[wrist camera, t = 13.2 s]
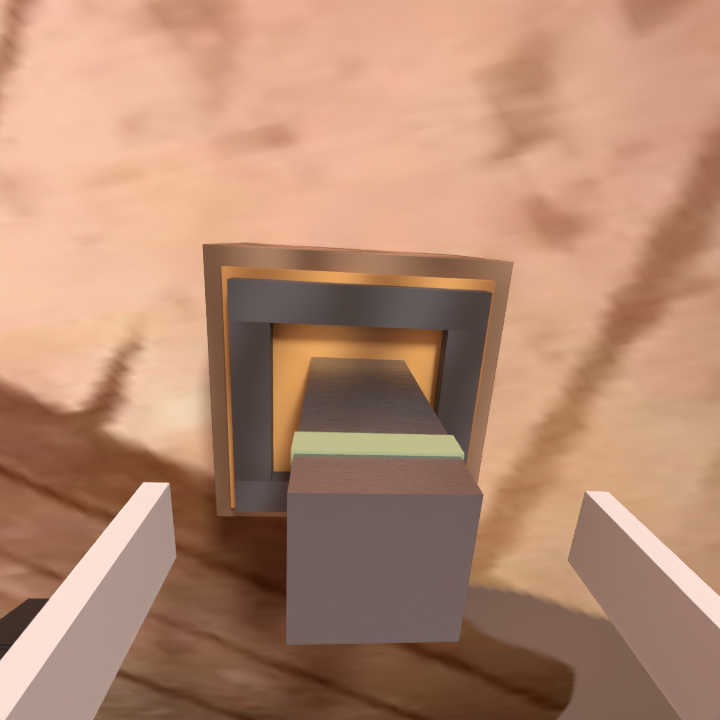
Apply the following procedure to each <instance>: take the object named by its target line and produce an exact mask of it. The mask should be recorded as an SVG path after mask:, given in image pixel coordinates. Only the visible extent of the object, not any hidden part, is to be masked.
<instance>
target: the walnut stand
mask: <svg viewBox="0 0 720 720" xmlns="http://www.w3.org/2000/svg"><path fill="white" fill-rule="evenodd" d="M203 260H204V279H205V298H206V317H207V336H208V355H209V374H210V393H211V412H212V430H213V449H214V468H215V487H216V506H217V516H268V517H287V491H288V486H289V480H290V475H291V448H292V443H293V438H294V433H295V432H298V431H299V425H300V420H301V414H302V408H303V403H304V397H305V392H306V386H307V381H308V375H309V370H310V364H311V359H312V357H329V358H356V359H383V360H404V361H405V363H406V364H407V366H408V368H409V369H410V371H411V373H412V375H413V376H414V378H415V380H416V381H417V383H418V385H419V386H420V388H421V390H422V392H423V393H424V395H425V397H426V398H427V400H428V402H429V403H430V405H431V407H432V409H433V410H434V412H435V414H436V415H437V417H438V419H439V420H440V422H441V424H442V425H443V427H444V429H445V431H446V432H447V434H448V435H453V436H454V437H455V439H456V441H457V442H458V444H459V446H460V447H461V449H462V450H463V452H464V460H463V461H464V463H465V464H466V466H467V468H468V470H469V471H470V473H471V475H472V476H473V478H474V480H475V481H476V483H478V477H479V471H480V465H481V459H482V453H483V446H484V440H485V434H486V428H487V422H488V416H489V410H490V403H491V397H492V391H493V385H494V379H495V373H496V367H497V360H498V354H499V348H500V342H501V336H502V330H503V324H504V317H505V311H506V305H507V299H508V293H509V287H510V281H511V274H512V268H513V262H508V261H500V260H492V259H484V258H476V257H468V256H460V255H445V254H428V253H411V252H394V251H377V250H360V249H343V248H326V247H309V246H292V245H275V244H257V243H224V244H203Z"/></svg>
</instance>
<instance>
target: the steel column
mask: <svg viewBox="0 0 720 720" xmlns="http://www.w3.org/2000/svg"><path fill="white" fill-rule="evenodd" d="M463 460H464V452H463V450H462V449H461V447H460V446H459V444H458V442H457V441H456V439H455V437H454V436H453V435H448V434H447V432H446V431H445V429H444V427H443V425H442V424H441V422H440V420H439V419H438V417H437V415H436V414H435V412H434V410H433V409H432V407H431V405H430V403H429V402H428V400H427V398H426V397H425V395H424V393H423V392H422V390H421V388H420V386H419V385H418V383H417V381H416V380H415V378H414V376H413V375H412V373H411V371H410V369H409V368H408V366H407V364H406V363H405V361H404V360H383V359H356V358H329V357H312V359H311V364H310V370H309V375H308V381H307V386H306V392H305V397H304V403H303V408H302V414H301V420H300V425H299V431H298V432H295V433H294V438H293V443H292V448H291V475H290V480H289V486H288V491H287V607H286V645H306V644H358V643H410V642H459V636H460V630H461V624H462V618H463V612H464V607H465V600H466V595H467V589H468V583H469V577H470V571H471V565H472V559H473V553H474V547H475V542H476V536H477V530H478V524H479V518H480V512H481V506H482V500H483V493H482V492H481V490H480V488H479V487H478V485H477V483H476V481H475V480H474V478H473V476H472V475H471V473H470V471H469V470H468V468H467V466H466V464H465V463H464V461H463Z"/></svg>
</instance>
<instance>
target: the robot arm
mask: <svg viewBox="0 0 720 720" xmlns="http://www.w3.org/2000/svg"><path fill="white" fill-rule="evenodd" d="M175 559H176V549H175V538H174V527H173V516H172V505H171V494H170V483H144V482H143V484H142V485H141V486H140V487H139V489H138V490H137V491H136V492H135V494H134V495H133V496H132V497H131V499H130V500H129V501H128V502H127V504H126V505H125V506H124V507H123V508H122V510H121V511H120V512H119V513H118V515H117V516H116V517H115V518H114V520H113V521H112V522H111V523H110V525H109V526H108V527H107V528H106V530H105V531H104V532H103V533H102V535H101V536H100V537H99V538H98V540H97V541H96V542H95V543H94V545H93V546H92V547H91V548H90V550H89V551H88V552H87V553H86V555H85V556H84V557H83V558H82V560H81V561H80V562H79V563H78V565H77V566H76V567H75V568H74V570H73V571H72V572H71V573H70V574H69V576H68V577H67V578H66V579H65V581H64V582H63V583H62V584H61V586H60V587H59V588H58V589H57V591H56V592H55V593H54V594H53V596H52V597H51V598H50V599H27V600H26V601H25V602H23V603H22V604H21V605H19V606H18V607H17V608H15V609H14V610H12V611H11V612H10V613H8V614H7V615H6V616H4V617H3V618H2V619H0V720H93V719H94V717H95V715H96V713H97V711H98V709H99V707H100V705H101V703H102V701H103V699H104V697H105V696H106V694H107V692H108V690H109V688H110V686H111V684H112V682H113V680H114V678H115V676H116V674H117V672H118V670H119V668H120V666H121V664H122V662H123V660H124V658H125V656H126V654H127V652H128V651H129V649H130V647H131V645H132V643H133V641H134V639H135V637H136V635H137V633H138V631H139V629H140V627H141V625H142V623H143V621H144V619H145V617H146V615H147V613H148V611H149V609H150V607H151V606H152V604H153V602H154V600H155V598H156V596H157V594H158V592H159V590H160V588H161V586H162V584H163V582H164V580H165V578H166V576H167V574H168V572H169V570H170V568H171V566H172V564H173V562H174V561H175ZM568 561H569V563H570V564H571V566H572V567H573V568H574V570H575V571H576V573H577V574H578V575H579V577H580V578H581V580H582V581H583V582H584V584H585V585H586V587H587V588H588V589H589V591H590V592H591V594H592V595H593V596H594V598H595V599H596V601H597V602H598V603H599V605H600V606H601V608H602V609H603V610H604V612H605V613H606V615H607V616H608V617H609V619H610V620H611V622H612V623H613V624H614V626H615V627H616V629H617V630H618V631H619V633H620V634H621V636H622V637H623V638H624V640H625V641H626V643H627V644H628V645H629V647H630V648H631V650H632V651H633V653H634V654H635V655H636V657H637V658H638V660H639V661H640V662H641V663H642V665H643V666H644V668H645V669H646V671H647V672H648V674H649V675H650V676H651V678H652V679H653V681H654V682H655V683H656V685H657V686H658V688H659V689H660V690H661V692H662V693H663V695H664V696H665V697H666V699H667V700H668V701H669V703H670V704H671V706H672V707H673V708H674V710H675V711H676V713H677V714H678V716H679V717H680V718H681V720H720V596H718V595H717V594H716V593H715V592H714V591H713V590H712V589H711V588H710V587H709V586H708V585H707V584H706V583H705V582H704V581H703V580H701V579H700V578H699V577H698V576H697V575H696V574H695V573H694V572H693V571H692V570H691V569H690V568H689V567H688V566H687V565H685V564H684V563H683V562H682V561H681V560H680V559H679V558H678V557H677V556H676V555H675V554H674V553H673V552H672V551H671V550H669V549H668V548H667V547H666V546H665V545H664V544H663V543H662V542H661V541H660V540H659V539H658V538H657V537H656V536H655V535H653V534H652V533H651V532H650V531H649V530H648V529H647V528H646V527H645V526H644V525H643V524H642V523H641V522H640V521H639V520H638V519H636V518H635V517H634V516H633V515H632V514H631V513H630V512H629V511H628V510H627V509H626V508H625V507H624V506H623V505H622V504H620V503H619V502H618V501H617V500H616V499H615V498H614V497H613V496H612V495H611V494H610V493H609V492H599V491H585V494H584V498H583V502H582V506H581V510H580V514H579V518H578V522H577V526H576V530H575V534H574V537H573V541H572V545H571V549H570V553H569V557H568Z"/></svg>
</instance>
